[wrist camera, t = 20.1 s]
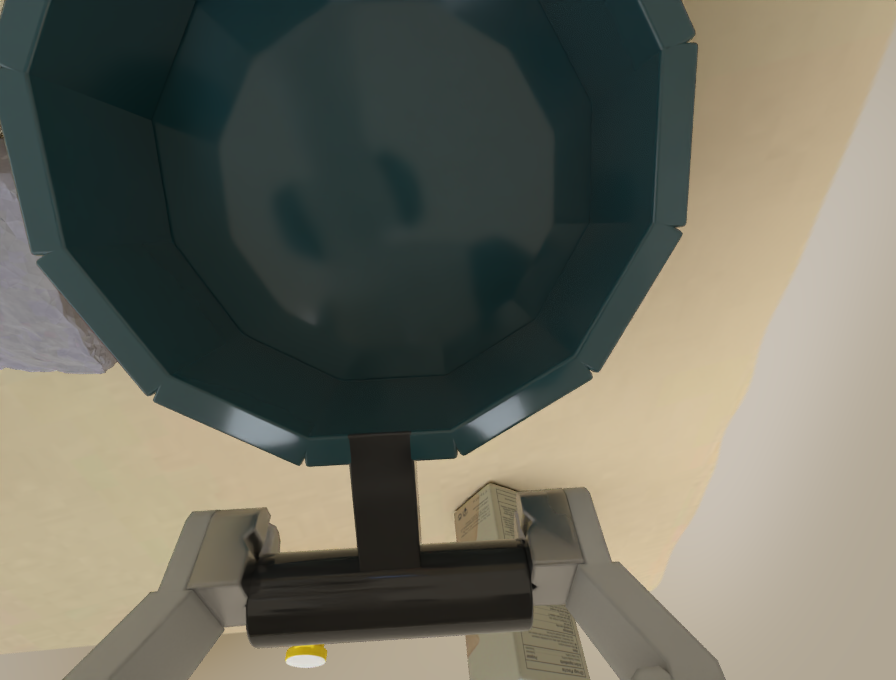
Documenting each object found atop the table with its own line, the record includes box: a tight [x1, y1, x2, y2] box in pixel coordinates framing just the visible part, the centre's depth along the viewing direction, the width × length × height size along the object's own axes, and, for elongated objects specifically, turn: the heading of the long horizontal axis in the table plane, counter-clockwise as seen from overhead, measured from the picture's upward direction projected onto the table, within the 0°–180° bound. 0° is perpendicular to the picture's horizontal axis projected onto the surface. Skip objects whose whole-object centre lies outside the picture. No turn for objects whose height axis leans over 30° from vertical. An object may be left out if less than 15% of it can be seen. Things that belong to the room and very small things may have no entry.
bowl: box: [0, 0, 698, 648], centre depth 10 cm, size 15×12×4 cm
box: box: [454, 483, 590, 680], centre depth 29 cm, size 5×4×11 cm
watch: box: [285, 644, 327, 668], centre depth 36 cm, size 6×3×6 cm, turn 178°
